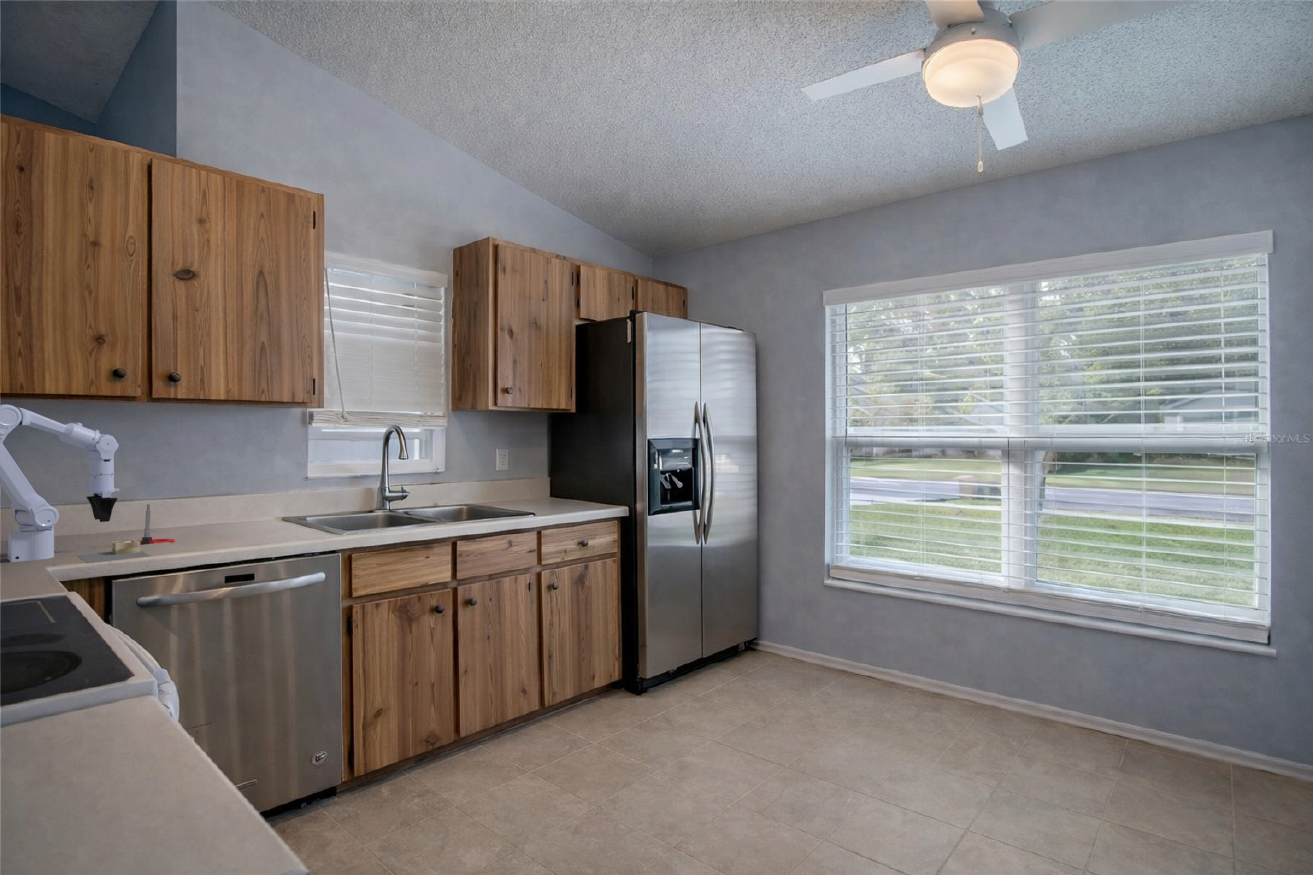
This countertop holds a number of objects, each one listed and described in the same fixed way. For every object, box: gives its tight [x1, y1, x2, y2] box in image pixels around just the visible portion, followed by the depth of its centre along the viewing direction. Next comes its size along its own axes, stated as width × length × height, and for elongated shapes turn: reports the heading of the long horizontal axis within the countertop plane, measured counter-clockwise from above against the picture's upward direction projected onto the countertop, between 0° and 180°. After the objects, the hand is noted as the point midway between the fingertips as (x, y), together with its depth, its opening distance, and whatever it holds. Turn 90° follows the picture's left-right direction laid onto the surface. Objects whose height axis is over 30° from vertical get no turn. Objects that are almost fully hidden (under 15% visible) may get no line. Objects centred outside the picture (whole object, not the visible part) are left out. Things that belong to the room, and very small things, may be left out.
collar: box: [111, 539, 141, 555], centre depth 198 cm, size 6×6×3 cm
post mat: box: [76, 540, 152, 564], centre depth 193 cm, size 14×16×4 cm
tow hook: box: [137, 503, 176, 546], centre depth 220 cm, size 8×13×9 cm
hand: (102, 520), depth 204 cm, fingers open, 7 cm apart
